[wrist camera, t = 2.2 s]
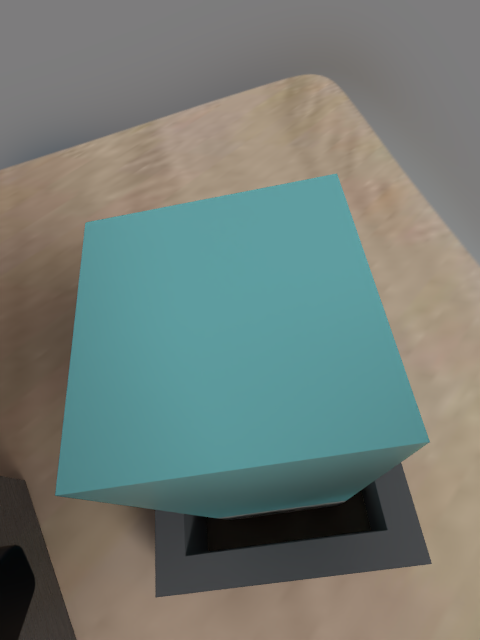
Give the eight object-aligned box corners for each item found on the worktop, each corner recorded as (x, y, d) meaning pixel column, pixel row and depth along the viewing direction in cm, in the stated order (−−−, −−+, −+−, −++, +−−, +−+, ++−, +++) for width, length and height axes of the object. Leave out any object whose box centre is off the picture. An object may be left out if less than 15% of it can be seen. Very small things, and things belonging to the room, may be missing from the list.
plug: (338, 505, 16) (429, 441, 4) (230, 520, 16) (55, 495, 5) (315, 398, 18) (336, 173, 7) (220, 413, 18) (85, 222, 7)
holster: (405, 556, 15) (431, 563, 12) (185, 583, 15) (155, 597, 12) (348, 352, 19) (357, 317, 16) (177, 380, 19) (154, 351, 16)
